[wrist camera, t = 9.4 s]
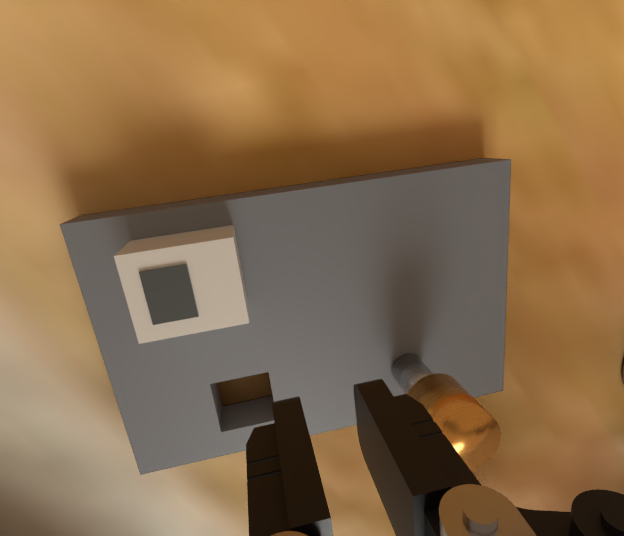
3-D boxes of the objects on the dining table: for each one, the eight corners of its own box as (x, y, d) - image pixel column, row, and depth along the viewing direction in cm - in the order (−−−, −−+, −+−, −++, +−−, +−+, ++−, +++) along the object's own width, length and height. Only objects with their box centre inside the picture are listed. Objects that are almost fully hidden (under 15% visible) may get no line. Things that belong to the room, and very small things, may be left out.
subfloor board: (484, 158, 29) (511, 159, 26) (481, 370, 35) (503, 390, 32) (79, 215, 25) (59, 224, 22) (149, 444, 31) (140, 474, 28)
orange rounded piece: (432, 339, 29) (503, 406, 22) (431, 385, 31) (497, 464, 23) (380, 348, 29) (435, 421, 21) (381, 395, 30) (433, 480, 22)
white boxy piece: (233, 224, 24) (233, 237, 21) (247, 300, 26) (249, 324, 22) (130, 240, 23) (112, 256, 20) (151, 317, 25) (138, 345, 22)
